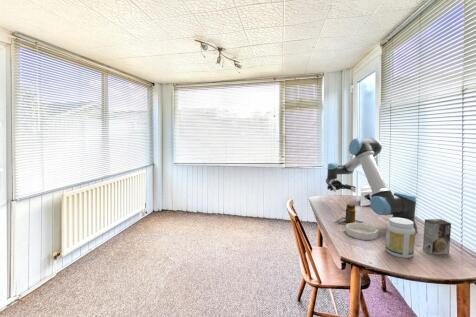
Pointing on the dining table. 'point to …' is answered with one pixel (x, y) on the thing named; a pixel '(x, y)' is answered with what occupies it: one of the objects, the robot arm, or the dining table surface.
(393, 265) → the dining table surface
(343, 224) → the grey square frame
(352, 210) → the condiment
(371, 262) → the dining table surface
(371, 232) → the bowl
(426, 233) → the coffee box
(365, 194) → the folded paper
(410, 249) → the supplement tub
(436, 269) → the dining table surface
